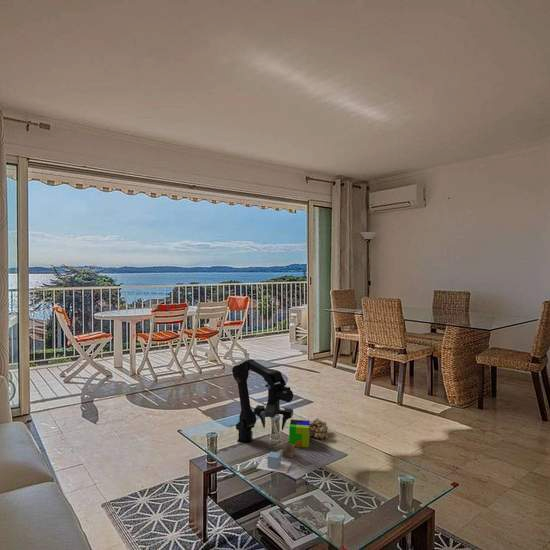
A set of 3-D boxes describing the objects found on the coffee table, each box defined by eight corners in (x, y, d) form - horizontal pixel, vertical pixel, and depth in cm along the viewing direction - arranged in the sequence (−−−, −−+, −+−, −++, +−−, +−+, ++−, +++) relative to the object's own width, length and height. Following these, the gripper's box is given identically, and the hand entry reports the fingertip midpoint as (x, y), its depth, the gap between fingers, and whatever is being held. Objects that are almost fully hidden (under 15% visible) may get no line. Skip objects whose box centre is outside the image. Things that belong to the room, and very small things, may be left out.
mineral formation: (300, 436, 218) (312, 425, 231) (322, 446, 211) (333, 434, 224) (302, 423, 217) (314, 412, 230) (325, 432, 210) (335, 421, 223)
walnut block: (282, 457, 194) (282, 447, 194) (284, 452, 199) (284, 442, 199) (292, 458, 193) (292, 448, 193) (294, 454, 198) (294, 444, 198)
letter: (256, 468, 182) (256, 468, 182) (262, 458, 192) (262, 458, 192) (286, 473, 179) (286, 473, 179) (291, 463, 188) (291, 462, 188)
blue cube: (267, 467, 184) (267, 456, 183) (270, 462, 188) (270, 451, 188) (277, 468, 182) (278, 457, 182) (280, 463, 187) (280, 453, 187)
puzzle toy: (309, 439, 215) (309, 420, 215) (308, 447, 205) (309, 428, 205) (290, 438, 216) (290, 419, 216) (289, 446, 206) (289, 426, 206)
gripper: (250, 400, 192) (249, 433, 192) (288, 404, 187) (288, 438, 187) (257, 393, 203) (257, 424, 203) (293, 397, 198) (293, 428, 198)
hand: (273, 428), depth 198 cm, fingers open, 9 cm apart
